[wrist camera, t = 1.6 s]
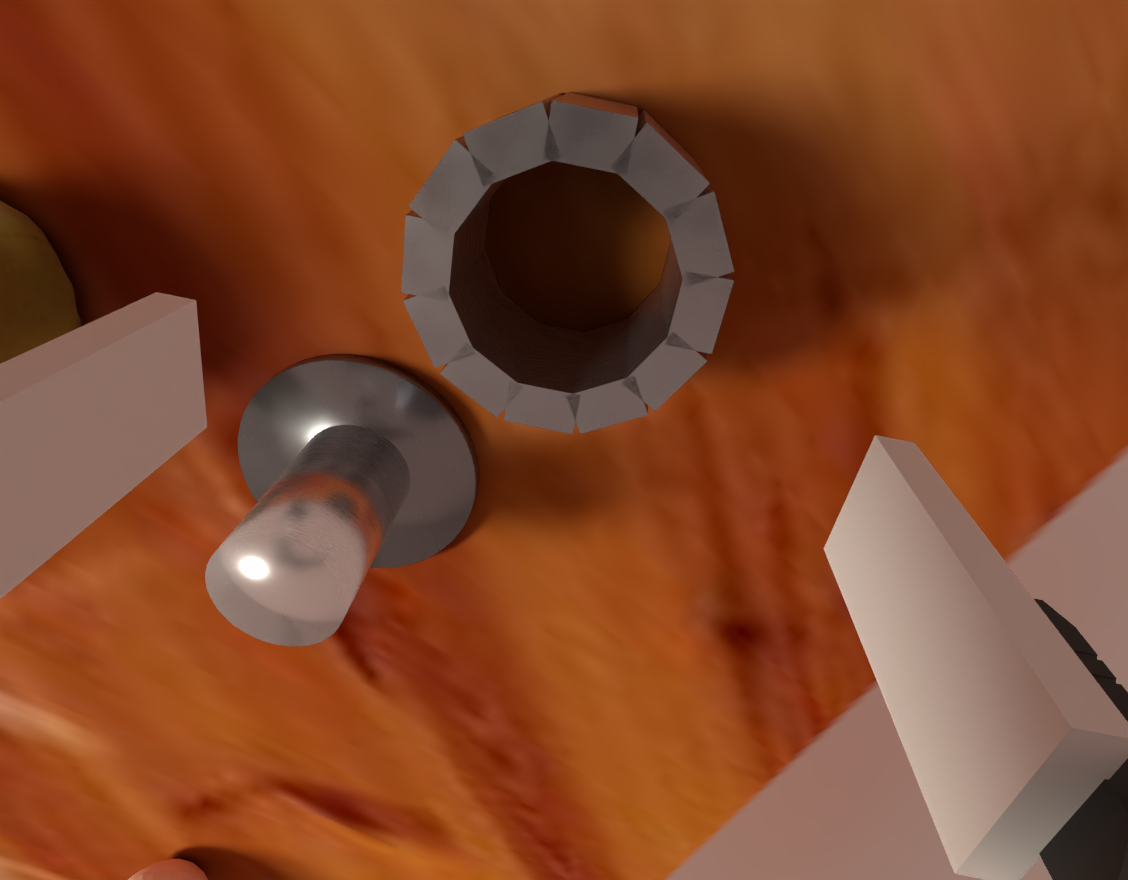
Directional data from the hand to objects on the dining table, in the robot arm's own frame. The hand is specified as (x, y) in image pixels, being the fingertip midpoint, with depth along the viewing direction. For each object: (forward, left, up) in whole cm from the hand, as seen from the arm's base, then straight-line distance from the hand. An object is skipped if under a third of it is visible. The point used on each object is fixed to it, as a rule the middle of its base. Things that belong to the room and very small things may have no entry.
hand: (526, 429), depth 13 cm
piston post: (+12, -8, -15) cm, 21 cm away
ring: (0, 0, -15) cm, 15 cm away
